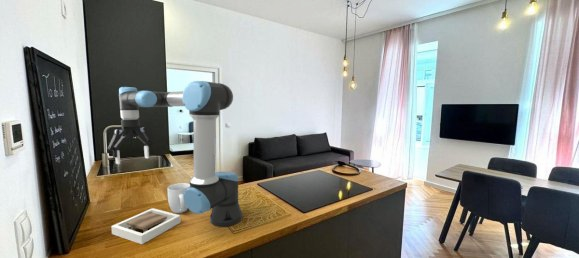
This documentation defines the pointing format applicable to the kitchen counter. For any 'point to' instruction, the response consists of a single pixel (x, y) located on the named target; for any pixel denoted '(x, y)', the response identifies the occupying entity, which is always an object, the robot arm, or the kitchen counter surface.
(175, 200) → the mug
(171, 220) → the face frame
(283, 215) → the kitchen counter surface
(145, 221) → the brown piece
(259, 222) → the kitchen counter surface
